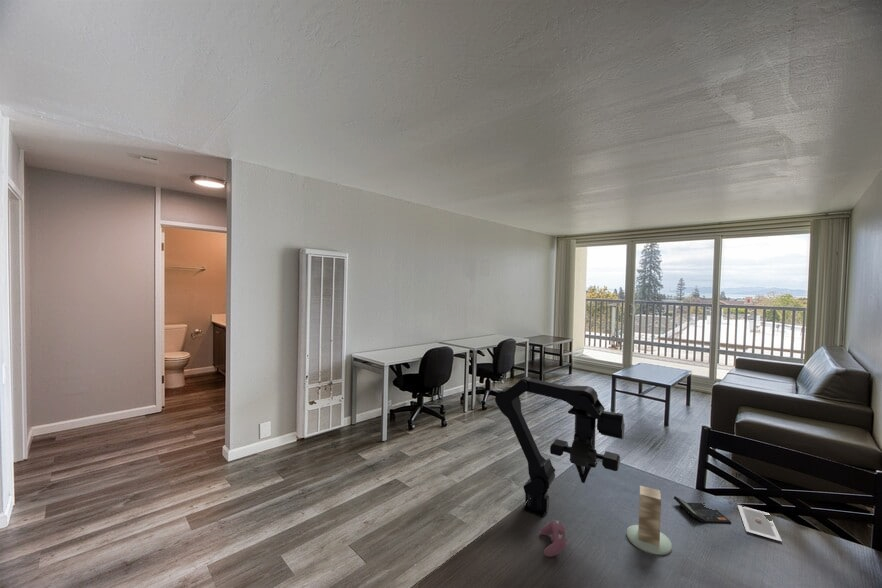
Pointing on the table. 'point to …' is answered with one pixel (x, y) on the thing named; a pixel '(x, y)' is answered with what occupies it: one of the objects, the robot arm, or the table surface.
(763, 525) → the touchpad
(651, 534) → the maple block
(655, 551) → the sage mat
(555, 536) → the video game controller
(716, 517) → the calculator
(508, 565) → the table surface
